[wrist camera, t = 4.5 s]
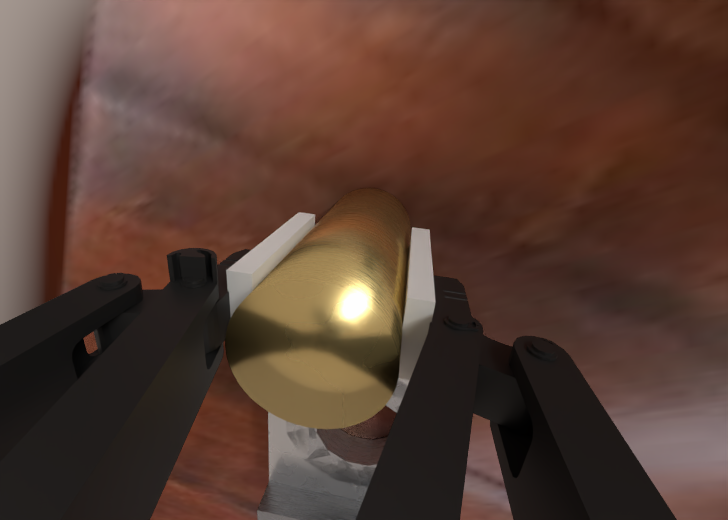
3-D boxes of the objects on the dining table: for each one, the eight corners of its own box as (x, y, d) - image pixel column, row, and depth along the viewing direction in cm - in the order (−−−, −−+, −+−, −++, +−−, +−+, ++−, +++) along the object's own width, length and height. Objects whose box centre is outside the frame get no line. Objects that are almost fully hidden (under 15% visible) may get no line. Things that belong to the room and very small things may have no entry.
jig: (279, 296, 21) (250, 333, 18) (481, 328, 20) (495, 375, 17) (279, 467, 27) (257, 521, 24) (436, 499, 26) (438, 562, 22)
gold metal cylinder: (331, 182, 18) (219, 267, 8) (416, 193, 18) (412, 296, 8) (326, 260, 20) (230, 412, 10) (404, 271, 20) (387, 443, 9)
